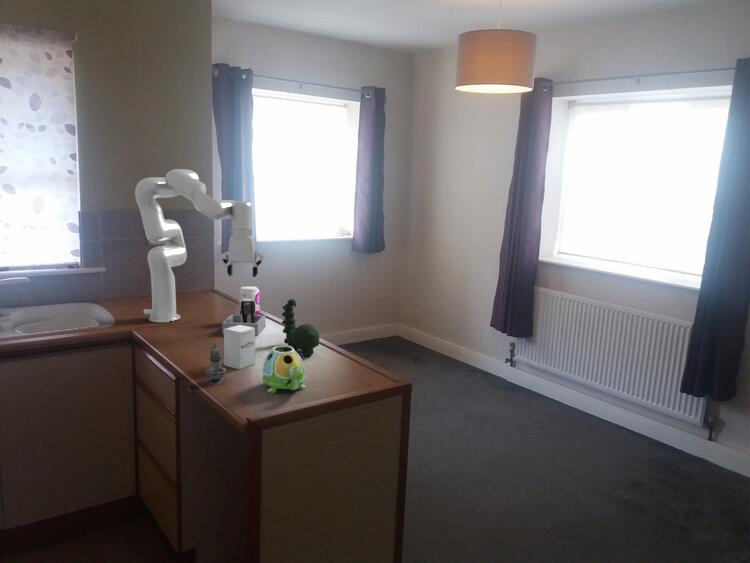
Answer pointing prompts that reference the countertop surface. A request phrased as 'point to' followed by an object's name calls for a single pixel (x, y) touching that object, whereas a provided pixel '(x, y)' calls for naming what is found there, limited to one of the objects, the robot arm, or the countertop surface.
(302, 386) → the turtle holder
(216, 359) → the grey tower figurine
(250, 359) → the supplement box
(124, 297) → the countertop surface
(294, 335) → the toy figurine
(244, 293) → the supplement can
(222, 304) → the countertop surface
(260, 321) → the tray
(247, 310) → the beverage can
